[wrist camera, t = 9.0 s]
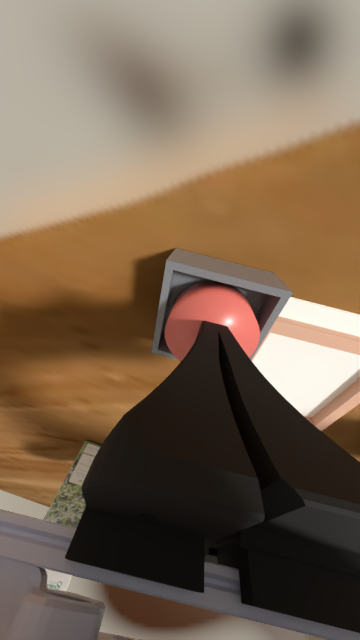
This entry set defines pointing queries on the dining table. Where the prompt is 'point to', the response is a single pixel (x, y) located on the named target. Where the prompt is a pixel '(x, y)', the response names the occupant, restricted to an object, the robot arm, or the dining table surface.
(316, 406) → the sheet
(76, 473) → the syrup box
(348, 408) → the region terracotta
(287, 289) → the button base
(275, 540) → the robot arm
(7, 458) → the dining table surface
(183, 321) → the button
